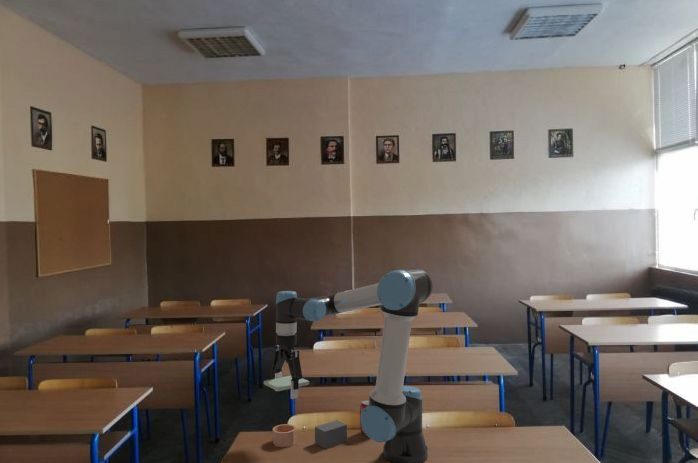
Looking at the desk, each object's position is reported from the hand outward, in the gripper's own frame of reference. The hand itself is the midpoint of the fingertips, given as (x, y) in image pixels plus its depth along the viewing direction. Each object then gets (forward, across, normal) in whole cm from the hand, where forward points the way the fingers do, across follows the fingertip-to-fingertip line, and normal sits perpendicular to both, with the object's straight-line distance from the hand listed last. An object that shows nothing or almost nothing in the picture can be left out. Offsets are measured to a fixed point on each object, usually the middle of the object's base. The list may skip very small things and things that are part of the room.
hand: (286, 394), depth 181 cm
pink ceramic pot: (+17, 0, +1) cm, 17 cm away
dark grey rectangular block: (+17, -11, -12) cm, 24 cm away
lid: (-4, 0, 0) cm, 4 cm away
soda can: (+17, -14, -28) cm, 36 cm away
